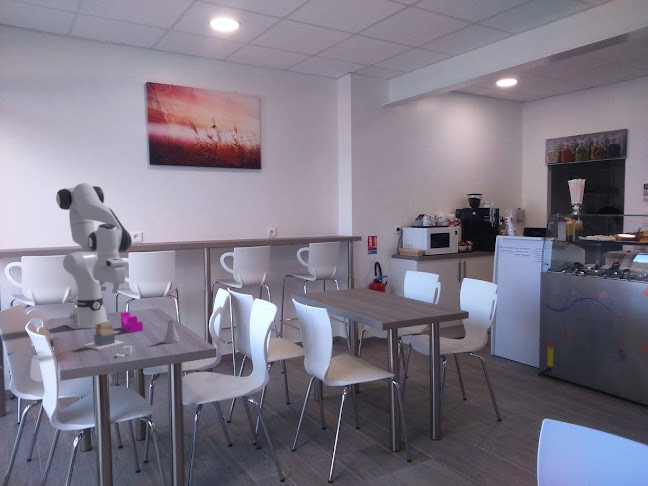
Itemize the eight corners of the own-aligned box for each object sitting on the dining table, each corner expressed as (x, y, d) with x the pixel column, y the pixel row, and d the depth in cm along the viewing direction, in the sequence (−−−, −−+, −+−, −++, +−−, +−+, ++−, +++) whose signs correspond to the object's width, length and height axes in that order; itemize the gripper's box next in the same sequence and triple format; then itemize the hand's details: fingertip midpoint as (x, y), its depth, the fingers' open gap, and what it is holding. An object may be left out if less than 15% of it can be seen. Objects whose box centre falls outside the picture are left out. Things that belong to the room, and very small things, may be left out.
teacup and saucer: (115, 360, 204) (114, 350, 203) (115, 355, 211) (114, 345, 211) (138, 357, 207) (138, 347, 207) (138, 352, 214) (137, 343, 214)
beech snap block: (95, 334, 224) (95, 323, 224) (106, 332, 228) (106, 321, 228) (101, 336, 221) (101, 324, 221) (112, 334, 225) (112, 322, 225)
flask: (164, 345, 224) (164, 322, 223) (161, 341, 230) (160, 319, 230) (181, 343, 228) (181, 320, 227) (178, 339, 234) (177, 317, 233)
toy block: (142, 331, 252) (142, 315, 252) (129, 333, 249) (129, 317, 248) (134, 325, 264) (133, 311, 264) (121, 327, 261) (120, 312, 260)
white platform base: (84, 346, 224) (83, 335, 224) (110, 340, 234) (109, 329, 233) (99, 351, 217) (98, 339, 216) (125, 344, 226) (124, 333, 226)
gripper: (89, 259, 232) (90, 290, 234) (114, 263, 220) (114, 295, 221) (102, 258, 237) (103, 288, 239) (127, 262, 225) (128, 293, 226)
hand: (109, 291), depth 230 cm, fingers open, 8 cm apart
